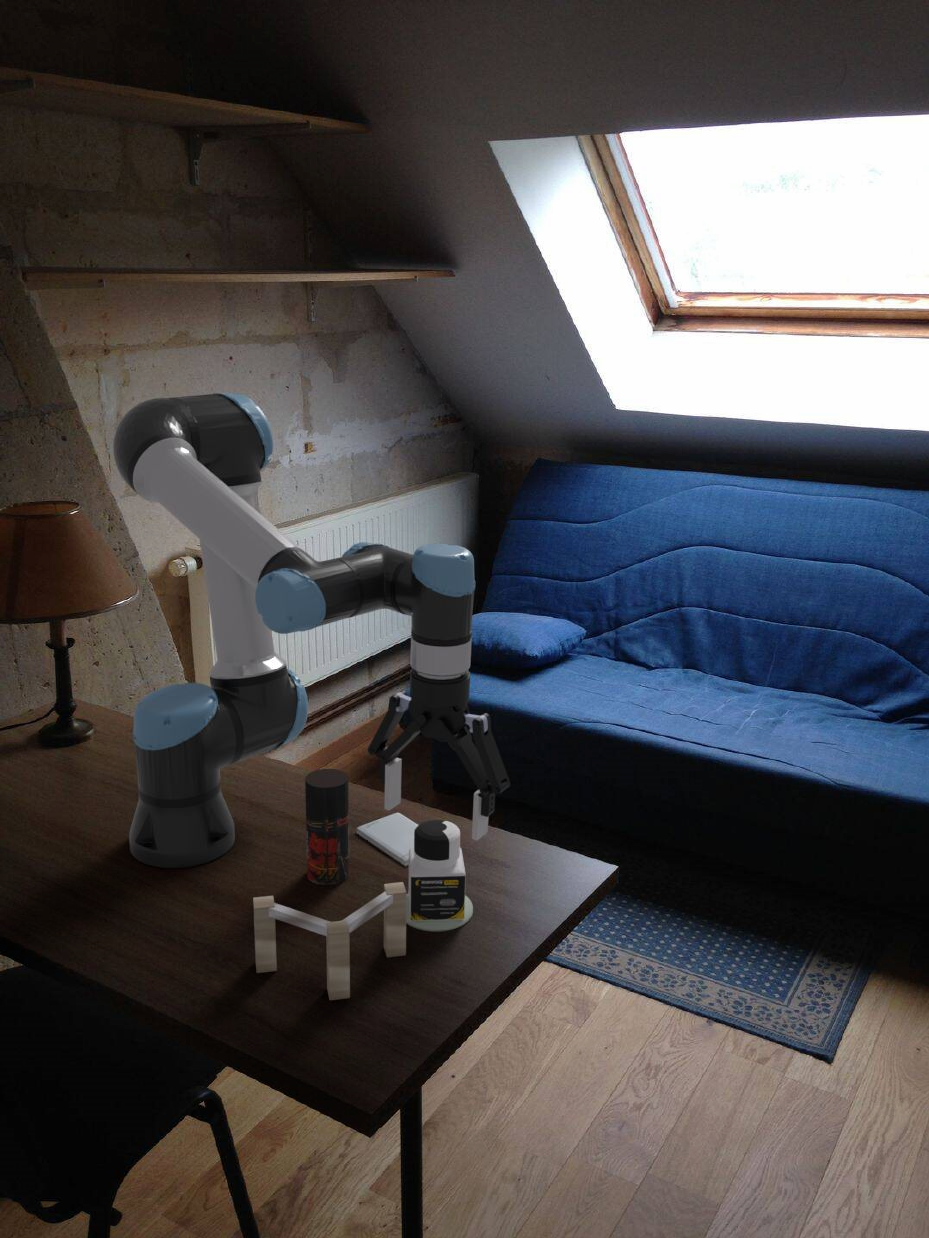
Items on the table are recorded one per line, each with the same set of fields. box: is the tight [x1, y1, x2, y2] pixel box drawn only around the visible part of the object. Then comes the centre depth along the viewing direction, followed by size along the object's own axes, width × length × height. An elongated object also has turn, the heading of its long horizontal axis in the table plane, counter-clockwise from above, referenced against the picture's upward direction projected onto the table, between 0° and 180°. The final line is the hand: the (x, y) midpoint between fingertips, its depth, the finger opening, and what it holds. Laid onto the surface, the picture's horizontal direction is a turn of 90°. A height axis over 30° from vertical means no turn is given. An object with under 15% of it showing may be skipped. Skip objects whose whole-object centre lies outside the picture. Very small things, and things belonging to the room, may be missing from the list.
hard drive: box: [355, 812, 419, 867], centre depth 165 cm, size 2×8×12 cm
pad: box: [406, 892, 474, 933], centre depth 147 cm, size 10×10×1 cm
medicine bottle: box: [407, 819, 467, 922], centre depth 145 cm, size 7×7×12 cm
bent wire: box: [252, 881, 407, 1001], centre depth 132 cm, size 9×18×9 cm, turn 103°
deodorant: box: [304, 768, 350, 886], centre depth 153 cm, size 6×6×15 cm
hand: (435, 820), depth 144 cm, fingers open, 13 cm apart
